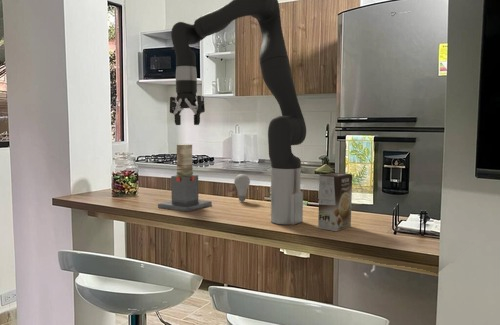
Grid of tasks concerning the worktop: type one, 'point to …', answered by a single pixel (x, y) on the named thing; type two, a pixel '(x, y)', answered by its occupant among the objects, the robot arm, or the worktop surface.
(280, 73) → the robot arm
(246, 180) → the lightbulb
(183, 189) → the stand
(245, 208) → the worktop surface
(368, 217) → the worktop surface
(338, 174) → the coffee box
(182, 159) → the column
